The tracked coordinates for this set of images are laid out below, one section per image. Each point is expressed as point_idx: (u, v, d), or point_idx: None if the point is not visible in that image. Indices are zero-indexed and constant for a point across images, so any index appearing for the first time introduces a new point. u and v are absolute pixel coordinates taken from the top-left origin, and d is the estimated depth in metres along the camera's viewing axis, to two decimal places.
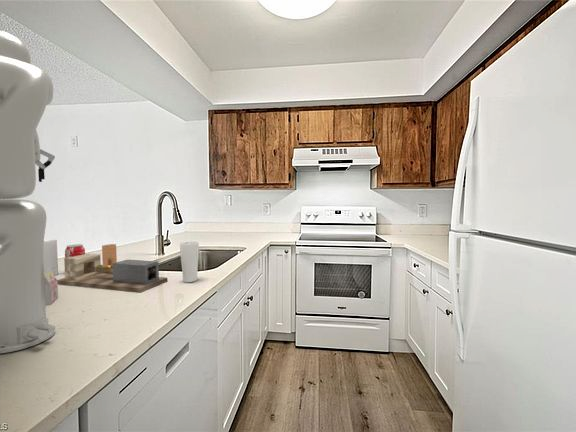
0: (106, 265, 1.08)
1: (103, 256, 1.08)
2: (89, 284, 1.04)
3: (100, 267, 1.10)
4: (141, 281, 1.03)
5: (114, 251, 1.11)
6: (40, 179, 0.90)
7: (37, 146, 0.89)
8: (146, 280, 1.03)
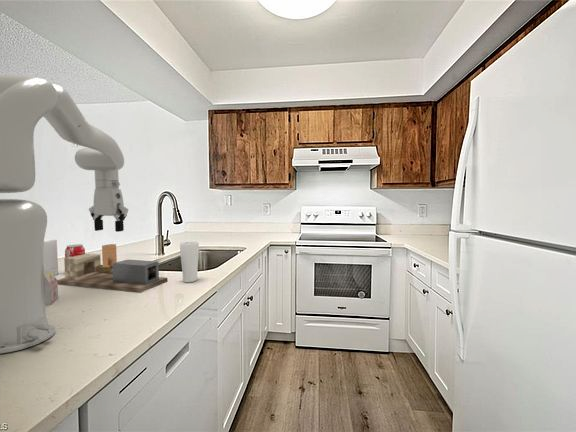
0: (106, 265, 1.08)
1: (103, 256, 1.08)
2: (89, 284, 1.04)
3: (100, 267, 1.10)
4: (141, 281, 1.03)
5: (114, 251, 1.11)
6: None
7: None
8: (146, 280, 1.03)
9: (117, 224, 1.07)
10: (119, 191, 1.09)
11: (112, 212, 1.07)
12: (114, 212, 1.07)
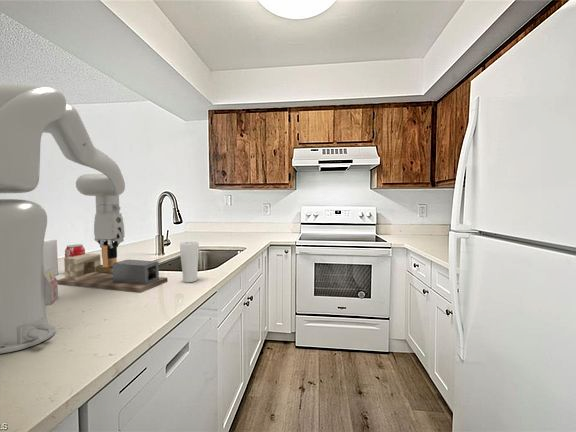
0: (106, 265, 1.08)
1: (103, 256, 1.08)
2: (89, 284, 1.04)
3: (100, 267, 1.10)
4: (141, 281, 1.03)
5: None
6: None
7: None
8: (146, 280, 1.03)
9: (110, 251, 1.08)
10: (120, 215, 1.09)
11: (112, 236, 1.07)
12: (114, 236, 1.07)
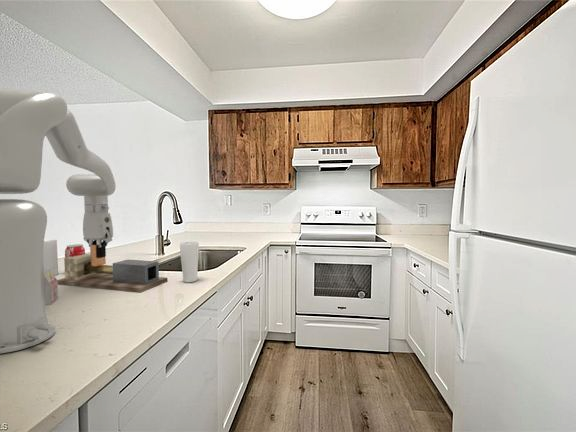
0: (95, 264, 1.10)
1: (92, 255, 1.10)
2: (89, 284, 1.04)
3: (89, 266, 1.11)
4: (141, 281, 1.03)
5: None
6: None
7: None
8: (146, 280, 1.03)
9: (99, 251, 1.10)
10: (108, 215, 1.10)
11: (101, 236, 1.08)
12: (103, 236, 1.08)
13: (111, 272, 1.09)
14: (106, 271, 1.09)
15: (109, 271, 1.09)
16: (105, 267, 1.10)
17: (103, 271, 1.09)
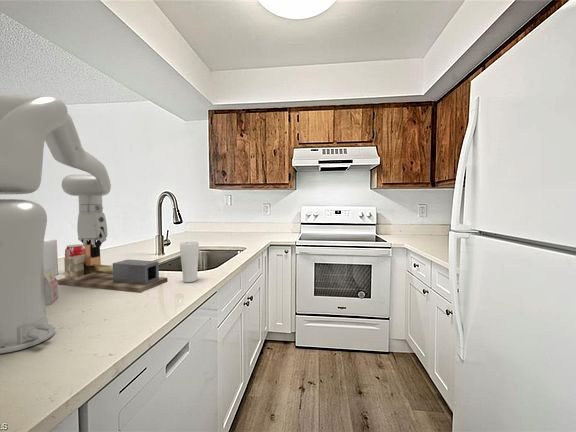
0: (89, 264, 1.10)
1: (86, 255, 1.10)
2: (89, 284, 1.04)
3: None
4: (141, 281, 1.03)
5: None
6: None
7: None
8: (146, 280, 1.03)
9: (93, 250, 1.11)
10: (102, 215, 1.11)
11: (95, 236, 1.09)
12: (97, 236, 1.09)
13: (105, 272, 1.09)
14: (100, 271, 1.10)
15: (103, 271, 1.09)
16: (99, 266, 1.10)
17: (97, 271, 1.10)
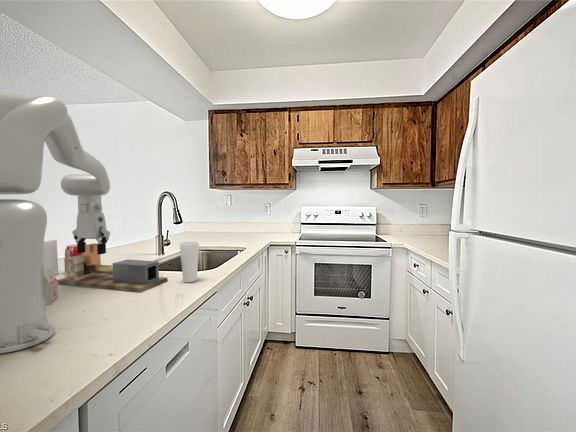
0: (89, 264, 1.10)
1: (86, 255, 1.10)
2: (89, 284, 1.04)
3: None
4: (141, 281, 1.03)
5: None
6: None
7: None
8: (146, 280, 1.03)
9: (99, 247, 1.10)
10: (102, 214, 1.11)
11: (94, 235, 1.09)
12: (96, 235, 1.09)
13: (105, 272, 1.09)
14: (100, 271, 1.10)
15: (103, 271, 1.09)
16: (100, 266, 1.10)
17: (97, 271, 1.10)
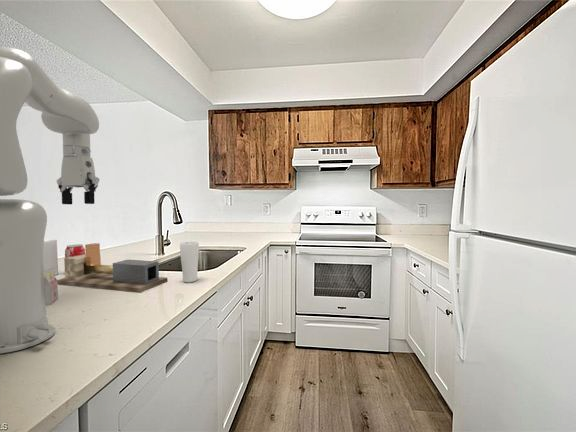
0: (89, 264, 1.10)
1: (86, 255, 1.10)
2: (89, 284, 1.04)
3: None
4: (141, 281, 1.03)
5: (97, 250, 1.13)
6: None
7: None
8: (146, 280, 1.03)
9: (86, 195, 0.96)
10: (90, 159, 0.98)
11: (81, 181, 0.95)
12: (83, 181, 0.95)
13: (105, 272, 1.09)
14: (100, 271, 1.10)
15: (103, 271, 1.09)
16: (100, 266, 1.10)
17: (97, 271, 1.10)
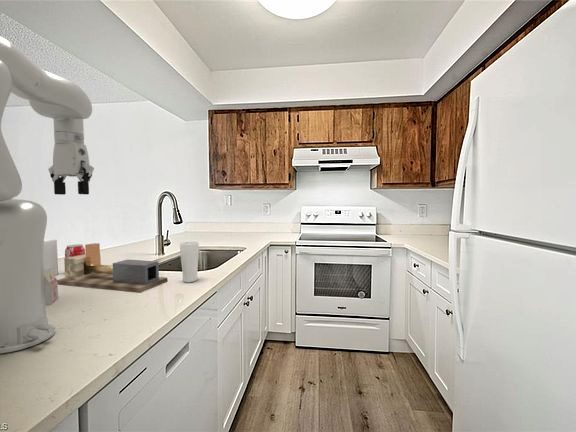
0: (89, 264, 1.10)
1: (86, 255, 1.10)
2: (89, 284, 1.04)
3: None
4: (141, 281, 1.03)
5: (97, 250, 1.13)
6: None
7: None
8: (146, 280, 1.03)
9: (80, 185, 0.90)
10: (83, 147, 0.92)
11: (74, 170, 0.89)
12: (76, 170, 0.89)
13: (105, 272, 1.09)
14: (100, 271, 1.10)
15: (103, 271, 1.09)
16: (100, 266, 1.10)
17: (97, 271, 1.10)
